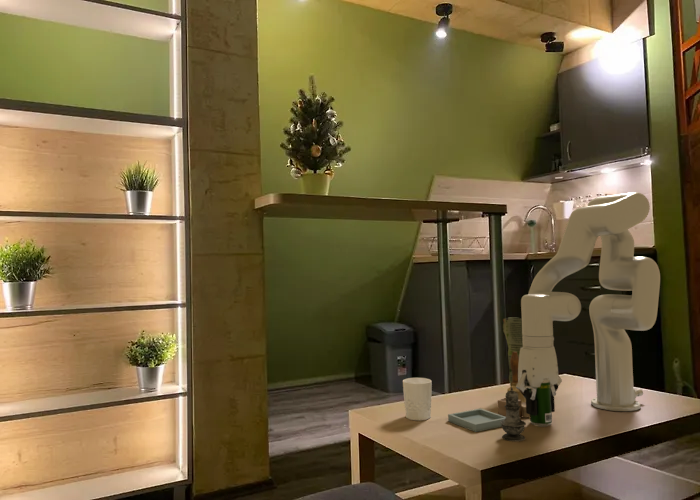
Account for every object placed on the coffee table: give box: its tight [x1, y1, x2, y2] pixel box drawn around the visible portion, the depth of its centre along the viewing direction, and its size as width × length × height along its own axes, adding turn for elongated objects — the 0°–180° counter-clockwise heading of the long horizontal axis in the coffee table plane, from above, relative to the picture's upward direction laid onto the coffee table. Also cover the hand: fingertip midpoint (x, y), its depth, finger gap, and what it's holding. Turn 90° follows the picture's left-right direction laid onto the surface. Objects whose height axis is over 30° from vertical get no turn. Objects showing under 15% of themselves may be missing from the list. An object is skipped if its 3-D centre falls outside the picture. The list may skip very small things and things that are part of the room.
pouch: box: [502, 316, 526, 399], centre depth 169 cm, size 11×12×25 cm
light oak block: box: [522, 402, 530, 418], centre depth 148 cm, size 6×4×3 cm, turn 108°
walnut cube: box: [497, 397, 523, 418], centre depth 146 cm, size 4×4×4 cm
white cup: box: [402, 377, 433, 421], centre depth 149 cm, size 8×8×10 cm
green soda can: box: [529, 378, 553, 427], centre depth 139 cm, size 5×5×12 cm
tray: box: [447, 407, 506, 433], centre depth 141 cm, size 11×11×2 cm
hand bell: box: [506, 352, 526, 403], centre depth 156 cm, size 8×8×16 cm
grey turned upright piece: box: [500, 386, 527, 442], centre depth 129 cm, size 6×6×12 cm
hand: (540, 412), depth 139 cm, fingers closed on green soda can, 5 cm apart
